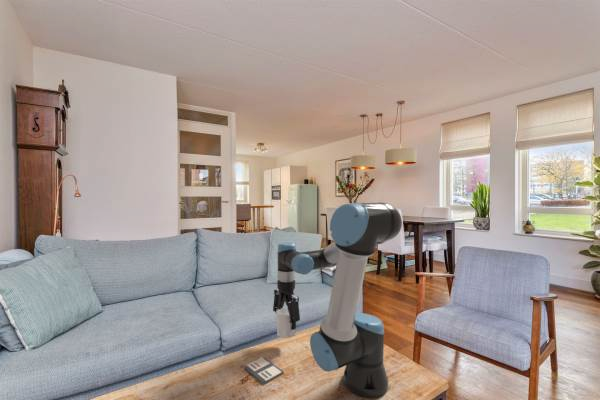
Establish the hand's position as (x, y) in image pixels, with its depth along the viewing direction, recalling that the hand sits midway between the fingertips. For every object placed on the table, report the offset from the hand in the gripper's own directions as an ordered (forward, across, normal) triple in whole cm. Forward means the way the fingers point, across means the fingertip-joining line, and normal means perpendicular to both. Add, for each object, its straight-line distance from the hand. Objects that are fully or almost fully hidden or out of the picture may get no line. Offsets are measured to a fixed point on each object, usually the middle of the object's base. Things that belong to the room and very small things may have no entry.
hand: (285, 332), depth 122 cm
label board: (+6, -7, +16) cm, 19 cm away
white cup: (+1, 0, 0) cm, 1 cm away
